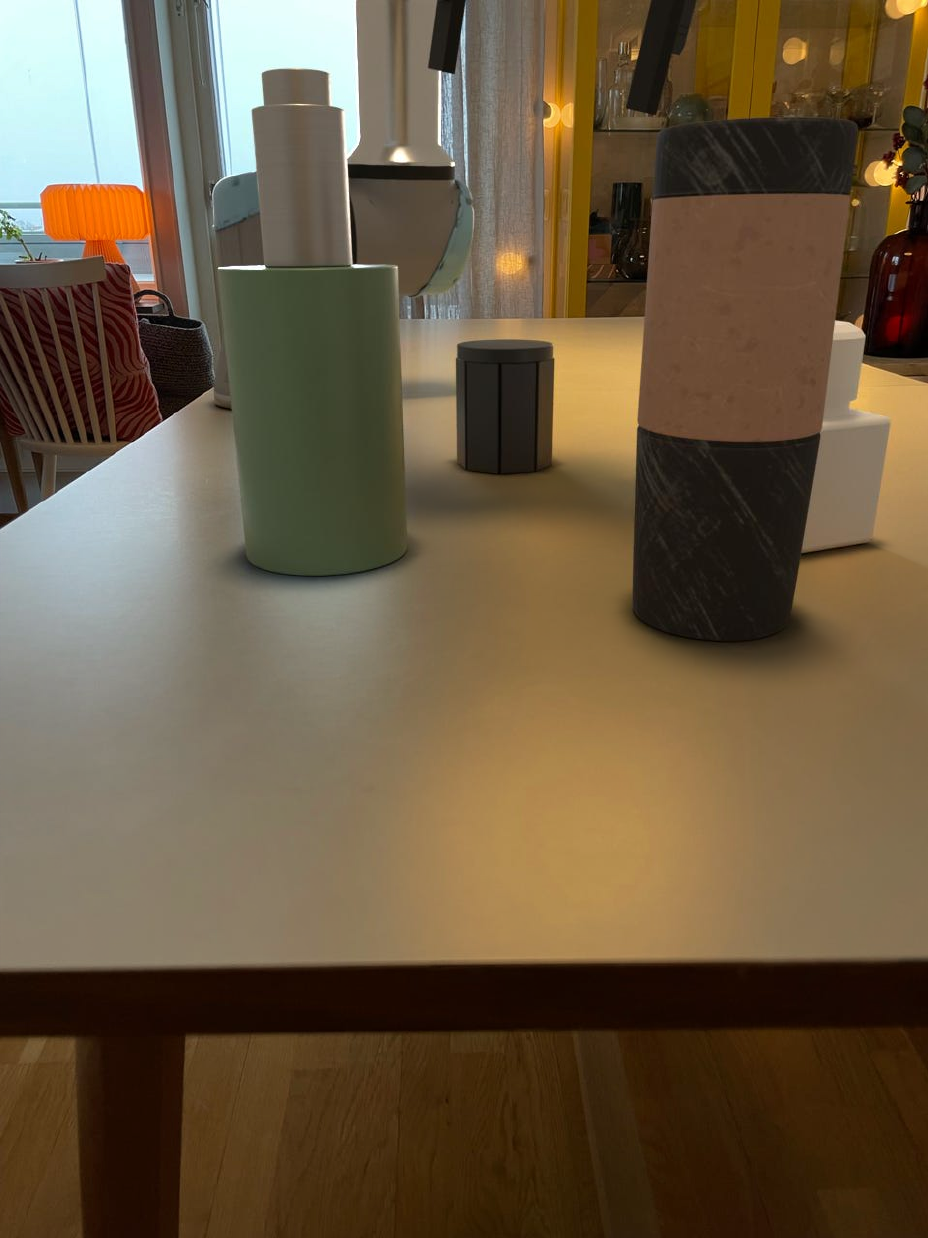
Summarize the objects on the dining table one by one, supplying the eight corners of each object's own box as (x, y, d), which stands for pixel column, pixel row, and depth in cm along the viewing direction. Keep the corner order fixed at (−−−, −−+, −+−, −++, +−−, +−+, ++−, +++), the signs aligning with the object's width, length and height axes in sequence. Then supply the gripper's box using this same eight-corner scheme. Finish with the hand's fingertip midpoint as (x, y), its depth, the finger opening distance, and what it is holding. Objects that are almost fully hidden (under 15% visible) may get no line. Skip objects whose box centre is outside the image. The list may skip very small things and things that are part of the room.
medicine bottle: (694, 526, 56) (711, 318, 52) (787, 512, 59) (812, 313, 55) (774, 560, 50) (802, 327, 46) (874, 543, 53) (910, 321, 48)
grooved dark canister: (448, 456, 76) (446, 341, 72) (533, 451, 77) (535, 337, 74) (471, 476, 69) (470, 350, 66) (563, 470, 71) (567, 346, 67)
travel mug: (806, 650, 39) (881, 112, 32) (622, 637, 41) (653, 120, 33) (786, 589, 46) (843, 135, 39) (629, 579, 48) (655, 141, 40)
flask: (243, 534, 56) (197, 85, 47) (391, 522, 58) (374, 90, 49) (250, 583, 48) (196, 52, 39) (422, 567, 50) (408, 60, 41)
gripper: (427, -538, 38) (363, 56, 49) (883, -324, 48) (746, 134, 59) (378, -471, 44) (330, 47, 55) (794, -292, 54) (684, 119, 64)
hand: (545, 93), depth 57 cm, fingers open, 13 cm apart
